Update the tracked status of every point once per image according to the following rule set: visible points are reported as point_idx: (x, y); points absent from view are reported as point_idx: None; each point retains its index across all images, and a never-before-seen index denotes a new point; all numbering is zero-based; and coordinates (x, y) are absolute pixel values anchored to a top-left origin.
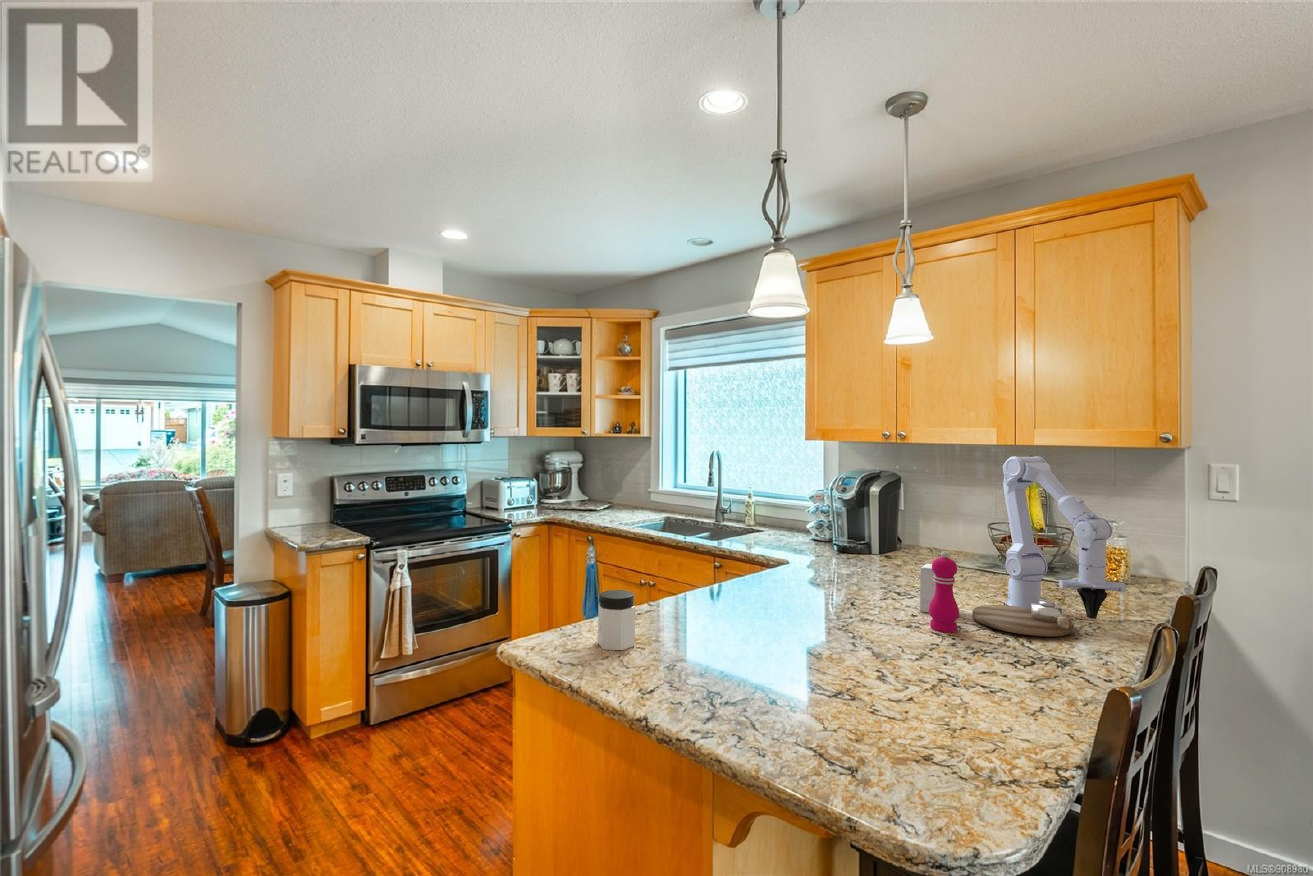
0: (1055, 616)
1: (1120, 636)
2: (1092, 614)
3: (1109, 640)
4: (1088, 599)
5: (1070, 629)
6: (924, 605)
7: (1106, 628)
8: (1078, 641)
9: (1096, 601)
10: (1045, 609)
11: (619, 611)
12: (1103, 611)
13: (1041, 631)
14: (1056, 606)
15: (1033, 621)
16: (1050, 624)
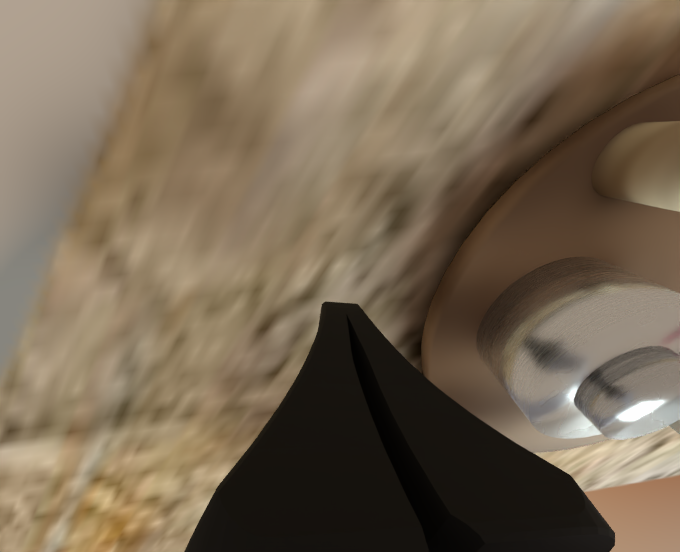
0: (618, 276)
1: (222, 186)
2: (356, 317)
3: (348, 83)
4: (474, 421)
5: (604, 131)
6: None
7: (233, 317)
8: (580, 40)
9: (364, 404)
10: None
11: None
12: (142, 492)
13: None
14: (578, 377)
15: (665, 271)
16: (631, 227)
